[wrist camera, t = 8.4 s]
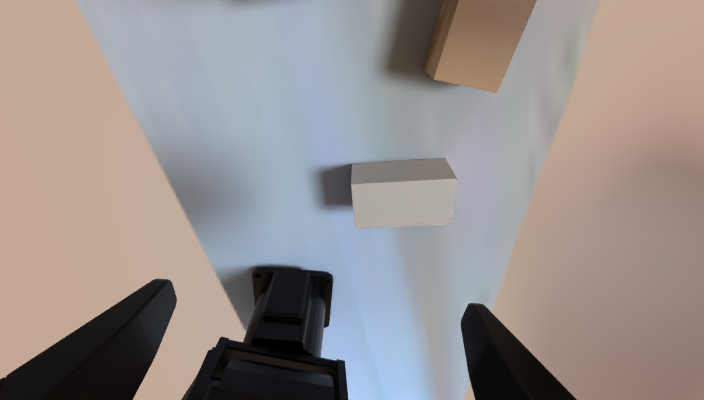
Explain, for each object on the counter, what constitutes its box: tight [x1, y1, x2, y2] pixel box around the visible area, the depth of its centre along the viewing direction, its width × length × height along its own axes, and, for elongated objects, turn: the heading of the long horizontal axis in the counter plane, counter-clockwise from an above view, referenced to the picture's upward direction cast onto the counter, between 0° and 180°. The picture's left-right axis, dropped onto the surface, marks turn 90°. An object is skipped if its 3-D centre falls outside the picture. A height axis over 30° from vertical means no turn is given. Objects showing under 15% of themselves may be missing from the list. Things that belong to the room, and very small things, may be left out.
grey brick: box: [351, 158, 457, 229], centre depth 20 cm, size 6×3×3 cm, turn 94°
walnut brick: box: [423, 0, 537, 93], centre depth 15 cm, size 6×3×3 cm, turn 169°
